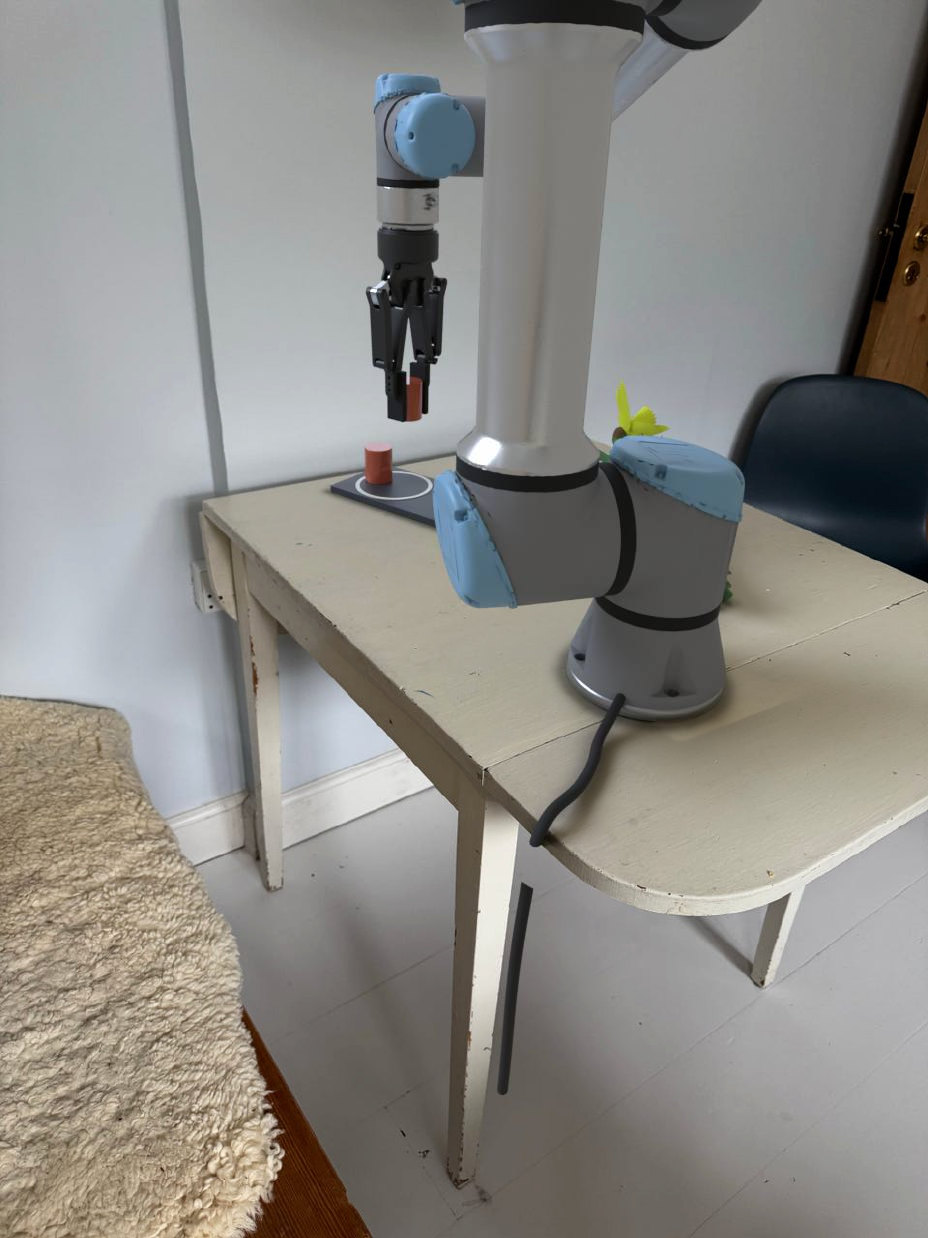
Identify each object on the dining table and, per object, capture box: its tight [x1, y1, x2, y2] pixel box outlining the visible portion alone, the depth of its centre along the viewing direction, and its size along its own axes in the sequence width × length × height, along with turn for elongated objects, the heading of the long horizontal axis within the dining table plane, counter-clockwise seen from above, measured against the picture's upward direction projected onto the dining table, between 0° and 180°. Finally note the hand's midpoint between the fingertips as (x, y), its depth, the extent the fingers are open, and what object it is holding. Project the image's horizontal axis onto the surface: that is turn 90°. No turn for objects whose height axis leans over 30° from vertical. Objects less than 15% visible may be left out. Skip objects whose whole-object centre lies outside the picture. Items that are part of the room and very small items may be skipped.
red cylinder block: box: [405, 376, 423, 423], centre depth 112 cm, size 4×4×5 cm
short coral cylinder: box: [364, 442, 394, 484], centre depth 122 cm, size 4×4×5 cm
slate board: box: [330, 465, 436, 528], centre depth 120 cm, size 12×24×1 cm, turn 54°
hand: (408, 415), depth 114 cm, fingers closed on red cylinder block, 4 cm apart
